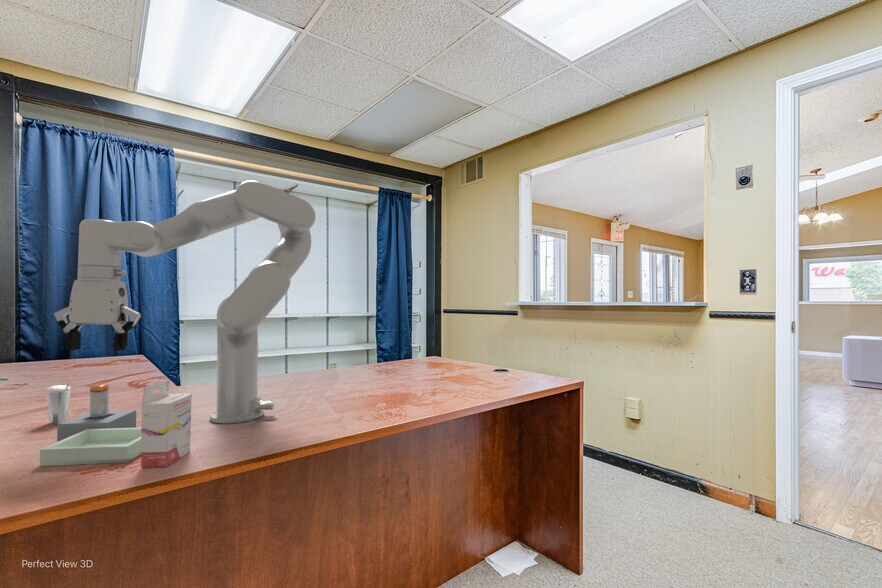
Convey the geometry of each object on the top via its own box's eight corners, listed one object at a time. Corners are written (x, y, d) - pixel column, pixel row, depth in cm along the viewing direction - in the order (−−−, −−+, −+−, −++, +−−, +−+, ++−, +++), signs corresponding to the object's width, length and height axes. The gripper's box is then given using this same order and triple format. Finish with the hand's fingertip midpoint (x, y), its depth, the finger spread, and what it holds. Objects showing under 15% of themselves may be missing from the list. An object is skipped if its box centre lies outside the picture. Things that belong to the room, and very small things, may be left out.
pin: (111, 431, 97) (112, 384, 97) (101, 436, 93) (102, 387, 93) (96, 432, 96) (96, 384, 96) (85, 437, 93) (86, 387, 93)
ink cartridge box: (168, 467, 76) (169, 387, 77) (139, 468, 76) (140, 387, 76) (192, 450, 85) (192, 378, 85) (166, 451, 85) (167, 378, 85)
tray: (162, 440, 91) (162, 426, 91) (127, 462, 79) (127, 446, 79) (87, 443, 89) (87, 429, 89) (39, 465, 77) (40, 449, 77)
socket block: (136, 426, 100) (136, 410, 100) (108, 441, 90) (108, 422, 90) (90, 428, 99) (90, 411, 99) (57, 442, 89) (57, 424, 89)
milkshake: (58, 425, 101) (58, 384, 101) (40, 424, 102) (41, 383, 102) (78, 420, 105) (78, 380, 106) (61, 418, 107) (61, 379, 107)
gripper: (150, 276, 100) (147, 348, 99) (70, 274, 98) (67, 348, 97) (130, 274, 92) (127, 352, 92) (43, 272, 90) (41, 352, 90)
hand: (97, 350), depth 95 cm, fingers open, 9 cm apart
